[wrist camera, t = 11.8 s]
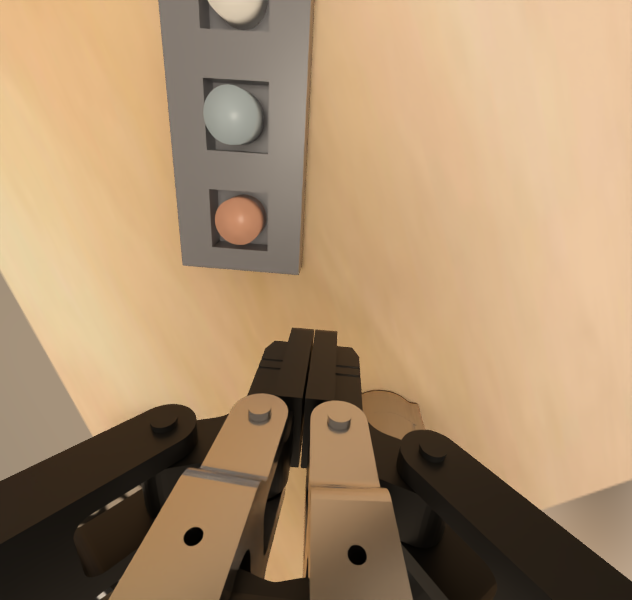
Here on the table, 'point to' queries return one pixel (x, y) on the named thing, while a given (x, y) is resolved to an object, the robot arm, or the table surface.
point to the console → (250, 159)
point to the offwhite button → (240, 12)
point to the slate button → (233, 115)
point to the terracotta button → (240, 219)
